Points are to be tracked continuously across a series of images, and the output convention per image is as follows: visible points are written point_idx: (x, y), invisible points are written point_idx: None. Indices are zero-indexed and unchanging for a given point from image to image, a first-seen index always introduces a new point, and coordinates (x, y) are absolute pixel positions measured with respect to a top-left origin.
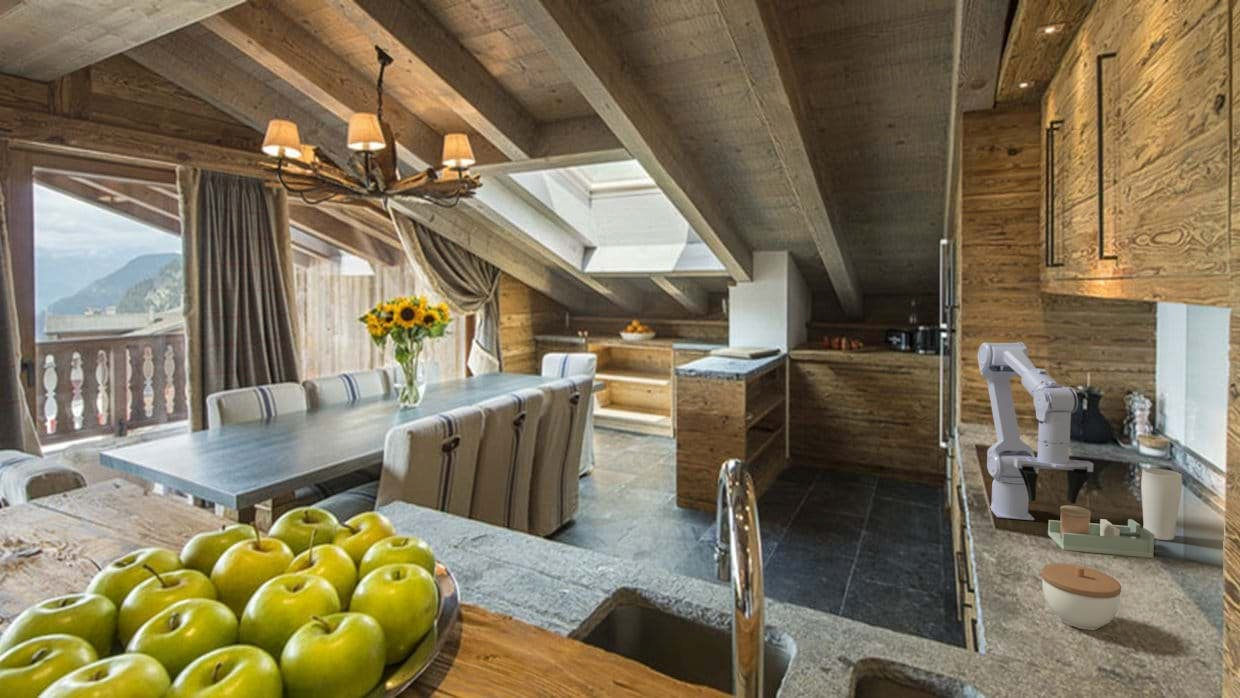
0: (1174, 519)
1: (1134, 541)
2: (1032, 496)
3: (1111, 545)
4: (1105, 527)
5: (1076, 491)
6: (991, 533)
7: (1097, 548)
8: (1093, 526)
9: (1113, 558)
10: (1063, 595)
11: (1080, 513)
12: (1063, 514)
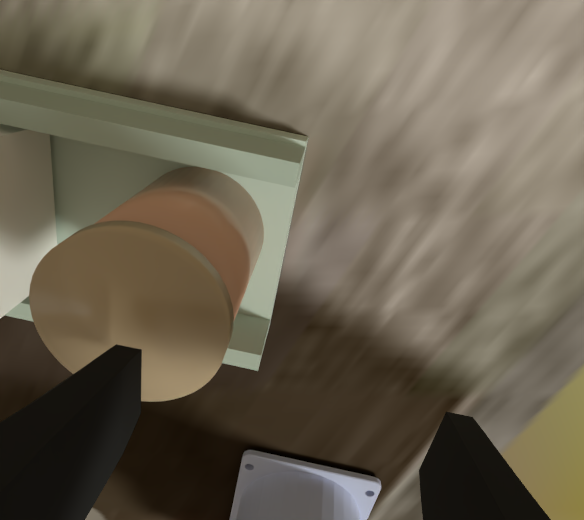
0: None
1: None
2: (494, 448)
3: (59, 100)
4: (10, 244)
5: (30, 427)
6: (540, 336)
7: (141, 105)
8: None
9: (101, 24)
10: None
11: (128, 241)
12: (231, 300)
